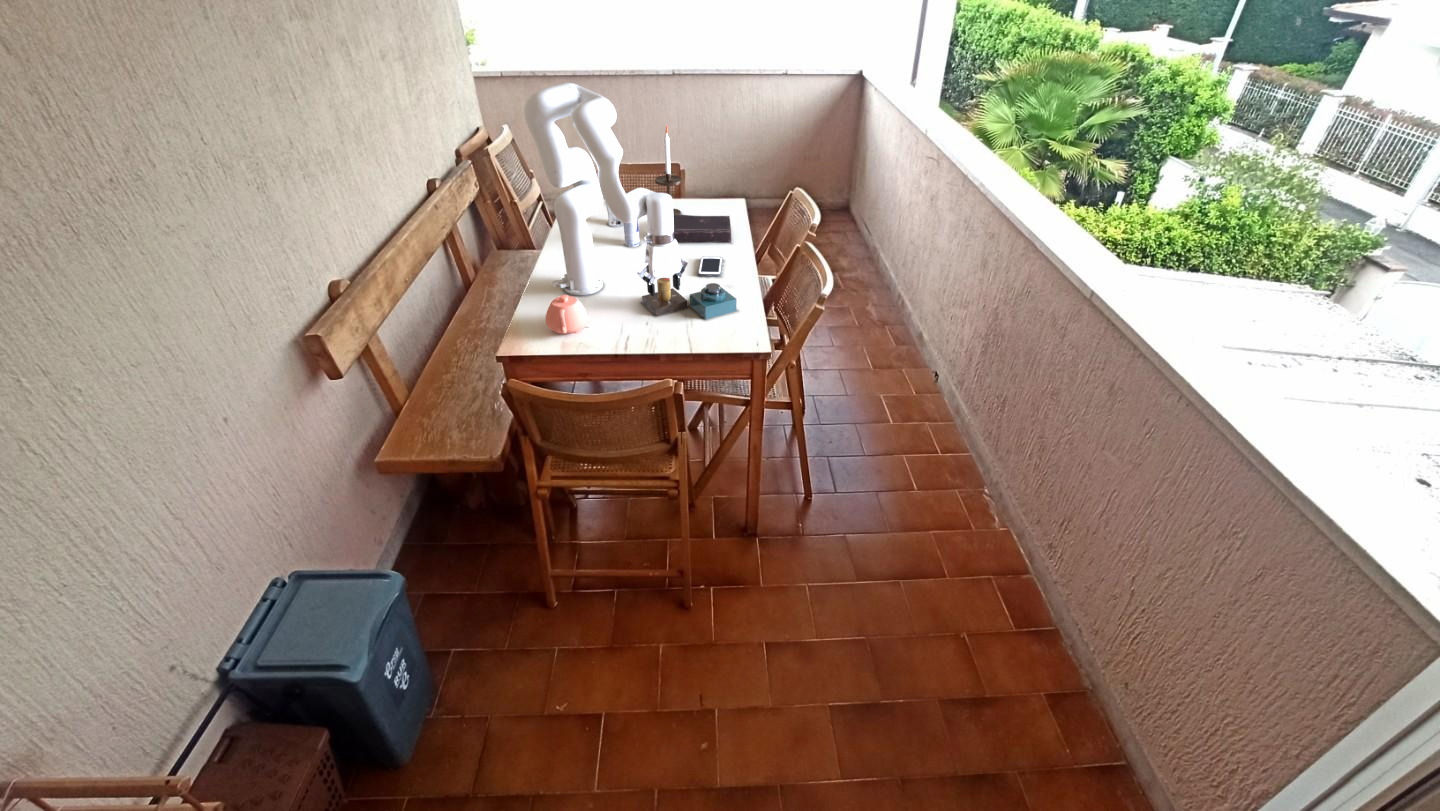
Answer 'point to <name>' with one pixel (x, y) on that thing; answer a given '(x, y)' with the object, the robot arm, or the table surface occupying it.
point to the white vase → (612, 218)
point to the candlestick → (668, 173)
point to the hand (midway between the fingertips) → (664, 291)
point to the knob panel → (664, 303)
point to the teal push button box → (712, 303)
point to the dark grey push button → (712, 289)
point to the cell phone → (710, 266)
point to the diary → (702, 228)
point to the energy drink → (631, 234)
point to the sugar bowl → (566, 315)
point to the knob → (664, 289)
